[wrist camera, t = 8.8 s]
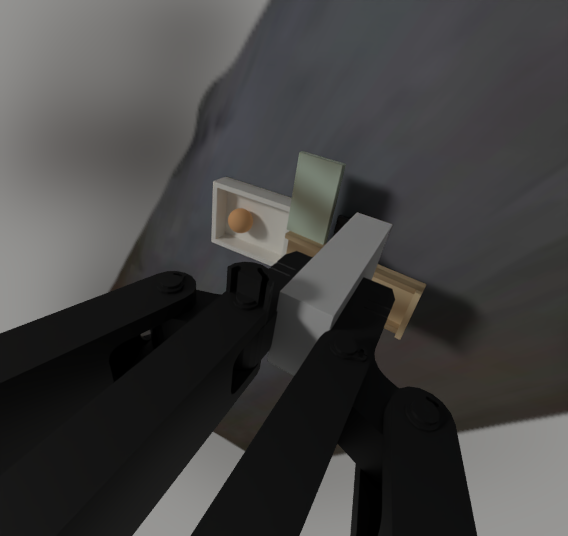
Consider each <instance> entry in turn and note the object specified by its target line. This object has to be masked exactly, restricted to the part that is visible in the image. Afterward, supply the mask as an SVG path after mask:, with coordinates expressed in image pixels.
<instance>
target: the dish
mask: <svg viewBox="0 0 568 536" xmlns="http://www.w3.org/2000/svg"><path fill="white" fill-rule="evenodd" d="M291 200H292V198H291V197H288V196H285V195H282V194H278V193H275V192H272V191H269V190H266V189H263V188H260V187H257V186H254V185H251V184H248V183H245V182H241V181H238V180H235V179H232V178H229V177H224V178H221V179H218V180H215V181H213V206H212V241H211V242H213V243H216V244H218V245H221V246H223V247H226V248H228V249H230V250H233V251H235V252H238V253H240V254H243V255H245V256H248V257H250V258H253V259H255V260H257V261H260V262H262V263H265V264H267V265H270V266H272V265H274V264H275V263H277V261H278V260H279V259H280V258H282V257H283V256H284V255H285V254H286V251H287V246H288V239H286V238H285V234H286V233H287V232H289V230H287V224H288V218H289V212H290V206H291ZM238 208H243V209H246V210H247V211H249V212H250V213H251V215H252V217H253V225H252V227H251V229H250V230H249V231H247V232H245V233H236V232H234V231H233V230H232V229H231V228H230V226H229V224H228V217H229V215H230V213H231V212H232V211H233V210H235V209H238Z"/></svg>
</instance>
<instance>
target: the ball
mask: <svg viewBox="0 0 568 536" xmlns="http://www.w3.org/2000/svg"><path fill="white" fill-rule="evenodd" d="M228 224H229V226H230V228H231V229H232V230H233V231H234V232H236V233H245V232H247V231H249V230H250V229H251V227H252V225H253V217H252V215H251V213H250V212H249V211H247V210H246V209H243V208H238V209H235V210H233V211H232V212H231V213H230V215H229V217H228Z"/></svg>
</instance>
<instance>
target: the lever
mask: <svg viewBox="0 0 568 536" xmlns="http://www.w3.org/2000/svg"><path fill="white" fill-rule="evenodd" d="M345 166H346V164H344V163H340V162H337V161H334V160H330V159H327V158H324V157H321V156H317V155H314V154H311V153H307V152H304V151H303V152H299V158H298V164H297V170H296V176H295V182H294V188H293V194H292V200H291V206H290V212H289V218H288V224H287V230H289V232H287V233H286V234H285V238H286V239H288V246H287V251H286V254H288V253H291V252H295V251H298V252H301V253H303V254H306V255H308V256H311V257H314V256H315V255H316V254H317V253H318V252H319V251H320V250H321V249H322V248H323V247H324V246H325V245H326V244H327V243H326V242H327V238H328V234H329V230H330V226H331V222H332V218H333V214H334V210H335V206H336V202H337V198H338V194H339V190H340V186H341V182H342V178H343V174H344V170H345ZM372 281H375V282H377V283H379V284H382V285H384V286H387V287H389V288H392V289H393V293H394V297H395V301H394V304H393V306H392V309H391V311H390V314H389V316H388V319H387V321H386V324H385V326H384V328H385V329H387V330H389V331H391V332H393V333H395V334H396V335H395V338H397V339H399V340H400V339H401V337H402V335H403V332H404V330H405V328H406V326H407V324H408V322H409V320H410V318H411V316H412V314H413V312H414V310H415V307H416V305H417V303H418V301H419V299H420V297H421V295H422V293H423V291H424V289H425V287H426V284H424V283H422V282H419V281H417V280H415V279H412V278H410V277H407V276H405V275H403V274H400V273H398V272H396V271H393V270H391V269H388V268H386V267H384V266H381V265H379V264H377V267H376V270H375V272H374V275H373V278H372Z"/></svg>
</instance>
